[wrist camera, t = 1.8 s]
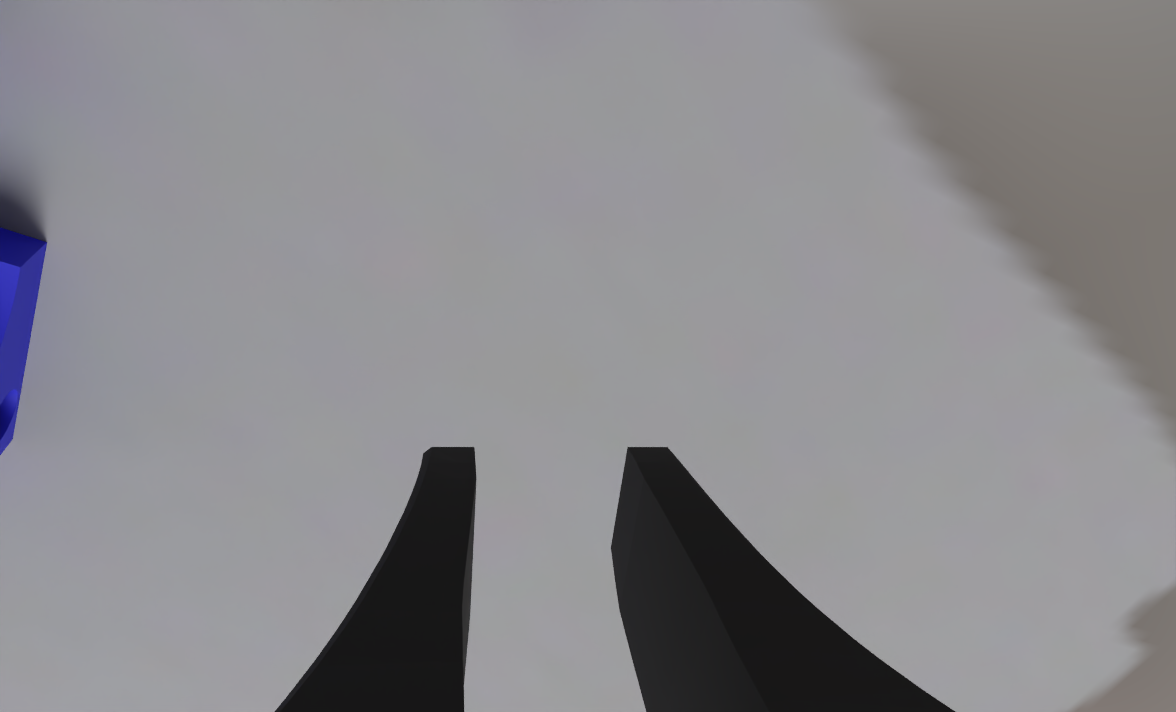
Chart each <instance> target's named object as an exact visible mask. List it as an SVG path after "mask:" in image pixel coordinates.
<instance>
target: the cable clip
mask: <svg viewBox="0 0 1176 712" xmlns="http://www.w3.org/2000/svg"><path fill="white" fill-rule="evenodd" d="M46 245H47V242H45V241H41V240H38V239H35V238H32V237H29V236H26V235H23V234H19V233H16V232H13V231H10V230H7V229H4V228H1V227H0V455H1V454H2V452H3V451H4V450H5V448H6V447H7V446H8V444H9V443H10V442H11V440H12V439H13V433H14V428H15V422H16V416H17V410H18V405H19V399H20V393H21V388H22V382H23V376H24V371H25V365H26V359H27V353H28V348H29V342H30V336H31V331H32V325H33V319H34V314H35V308H36V302H37V296H38V291H39V285H40V279H41V274H42V268H43V262H44V257H45V251H46Z"/></svg>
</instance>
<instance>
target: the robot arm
mask: <svg viewBox="0 0 1176 712" xmlns="http://www.w3.org/2000/svg"><path fill="white" fill-rule="evenodd" d="M475 496H476V465H475V451H474V447H431V448H430V449H429V450H427V451H426V452H425V453H423V459H422V464H421V468H420V471H419V474H418V478H417V481H416V483H415V486H414V489H413V491H412V494H411V496H410V499H409V501H408V503H407V506H406V508H405V511H404V513H403V515H402V517H401V519H400V521H399V523H398V525H397V527H396V529H395V531H394V533H393V535H392V537H391V539H390V542H389V544H388V546H387V548H386V550H385V551H384V553H383V555H382V557H381V559H380V561H379V562H378V564H377V566H376V567H375V569H374V571H373V573H372V574H371V576H370V578H369V579H368V581H367V583H366V585H365V586H364V588H363V590H362V591H361V593H360V595H359V597H358V598H357V600H356V601H355V603H354V605H353V606H352V608H351V609H350V611H349V612H348V614H347V615H346V617H345V618H344V620H343V622H342V623H341V624H340V626H339V627H338V629H337V630H336V632H335V633H334V635H333V636H332V638H331V639H330V640H329V642H328V643H327V645H326V646H325V647H324V649H323V650H322V652H321V653H320V654H319V656H318V657H317V659H316V660H315V661H314V663H313V664H312V665H311V666H310V668H309V669H308V670H307V672H306V673H305V674H304V675H303V677H302V678H301V679H300V681H299V682H298V683H297V684H296V686H295V687H294V688H293V690H292V691H291V692H290V693H289V695H288V696H287V697H286V699H285V700H284V701H283V702H282V703H281V705H280V706H279V707H278V708H277V710H276V711H275V712H464V676H465V665H466V654H467V643H468V632H469V621H470V605H471V583H472V561H473V540H474V518H475ZM611 551H612V559H613V567H614V575H615V582H616V589H617V596H618V603H619V609H620V613H621V617H622V621H623V625H624V629H625V633H626V637H627V640H628V644H629V648H630V652H631V656H632V660H633V663H634V667H635V671H636V674H637V678H638V682H639V686H640V689H641V693H642V697H643V701H644V704H645V708H646V712H955V711H953V710H952V709H950V708H949V707H947V706H946V705H944V704H943V703H941V702H940V701H938V700H937V699H935V698H934V697H932V696H931V695H929V694H928V693H926V692H925V691H923V690H922V689H921V688H919V687H918V686H916V685H915V684H914V683H912V682H911V681H909V680H908V679H907V678H905V677H904V676H903V675H901V674H900V673H898V672H897V671H896V670H894V669H893V668H891V667H890V666H889V665H887V664H886V663H885V662H883V661H882V660H880V659H879V658H878V657H876V656H875V655H874V654H872V653H871V652H870V651H869V650H867V649H866V648H865V647H863V646H862V645H861V644H860V643H858V642H857V641H856V640H855V639H853V638H852V637H851V636H850V635H848V634H847V633H846V632H845V631H844V630H843V629H841V628H840V627H839V626H838V625H837V624H835V623H834V622H833V621H832V620H831V619H829V618H828V617H827V616H826V615H825V614H823V613H822V612H821V611H820V610H819V609H818V608H816V607H815V606H814V605H813V604H812V603H811V602H810V601H809V600H807V599H806V598H805V597H804V596H803V595H802V594H801V593H800V592H799V591H798V590H797V589H795V588H794V587H793V586H792V585H791V584H790V583H789V582H788V581H787V580H786V579H785V578H784V577H783V576H782V575H781V574H780V573H779V572H778V571H777V570H776V569H775V568H774V567H773V566H772V565H771V564H770V563H769V562H768V561H767V560H766V559H765V558H764V557H763V556H762V555H761V554H760V553H759V552H758V551H757V550H756V549H755V548H754V546H753V545H752V544H751V543H750V542H749V541H748V540H747V539H746V538H745V537H744V536H743V534H742V533H741V532H740V531H739V530H738V529H737V528H736V527H735V526H734V525H733V524H732V522H731V521H730V520H729V519H728V518H727V517H726V516H725V515H724V513H723V512H722V511H721V510H720V509H719V508H718V506H717V505H716V504H715V503H714V502H713V501H712V499H711V498H710V497H709V496H708V495H707V494H706V492H705V491H704V490H703V489H702V488H701V486H700V485H699V484H698V483H697V482H696V480H695V479H694V478H693V477H692V476H691V474H690V473H689V472H688V471H687V470H686V468H685V467H684V466H683V465H682V464H681V462H680V461H679V460H678V459H677V458H676V457H675V455H674V454H673V453H672V452H671V451H670V450H669V449H668V447H628V449H627V455H626V461H625V467H624V473H623V479H622V485H621V491H620V497H619V503H618V509H617V515H616V521H615V527H614V533H613V539H612V545H611Z"/></svg>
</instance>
